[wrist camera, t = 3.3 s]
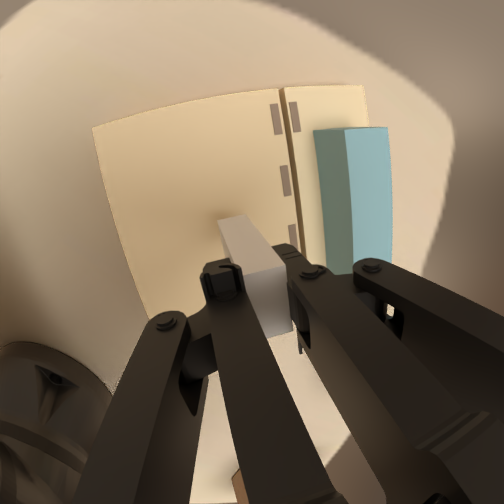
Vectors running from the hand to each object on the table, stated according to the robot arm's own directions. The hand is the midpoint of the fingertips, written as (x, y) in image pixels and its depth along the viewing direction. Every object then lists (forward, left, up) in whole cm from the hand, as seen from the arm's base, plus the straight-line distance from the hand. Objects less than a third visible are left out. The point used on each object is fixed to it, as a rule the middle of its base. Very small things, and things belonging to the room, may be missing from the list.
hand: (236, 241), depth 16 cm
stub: (+8, 0, -6) cm, 10 cm away
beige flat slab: (-1, 0, -6) cm, 6 cm away
